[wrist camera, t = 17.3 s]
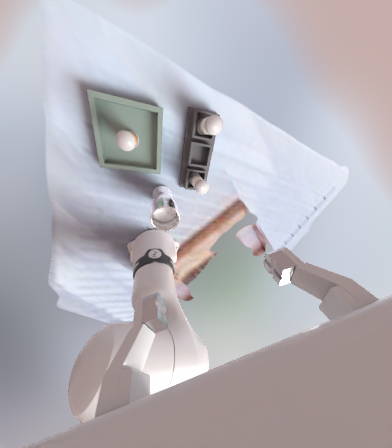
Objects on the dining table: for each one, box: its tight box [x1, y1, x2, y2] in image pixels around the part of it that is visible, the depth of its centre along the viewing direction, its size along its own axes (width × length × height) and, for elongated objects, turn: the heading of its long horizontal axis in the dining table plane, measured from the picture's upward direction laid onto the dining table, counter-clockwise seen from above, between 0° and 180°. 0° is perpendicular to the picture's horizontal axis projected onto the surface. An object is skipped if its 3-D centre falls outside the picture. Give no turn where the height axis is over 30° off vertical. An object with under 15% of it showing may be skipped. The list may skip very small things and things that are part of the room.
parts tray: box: [87, 89, 163, 174], centre depth 33 cm, size 14×14×3 cm
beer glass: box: [150, 186, 180, 231], centre depth 38 cm, size 7×7×15 cm
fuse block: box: [180, 107, 220, 190], centre depth 38 cm, size 19×8×4 cm, turn 170°
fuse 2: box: [196, 115, 223, 135], centre depth 32 cm, size 3×3×9 cm
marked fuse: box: [116, 130, 139, 151], centre depth 30 cm, size 3×3×9 cm
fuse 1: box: [189, 172, 209, 194], centre depth 39 cm, size 3×3×9 cm
